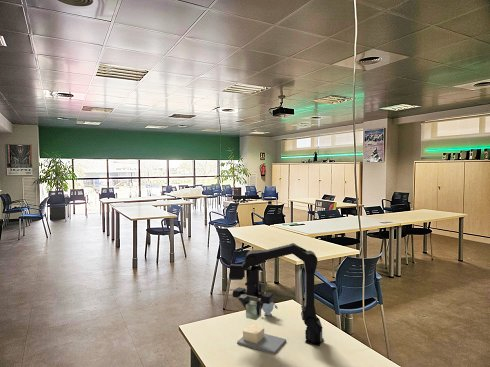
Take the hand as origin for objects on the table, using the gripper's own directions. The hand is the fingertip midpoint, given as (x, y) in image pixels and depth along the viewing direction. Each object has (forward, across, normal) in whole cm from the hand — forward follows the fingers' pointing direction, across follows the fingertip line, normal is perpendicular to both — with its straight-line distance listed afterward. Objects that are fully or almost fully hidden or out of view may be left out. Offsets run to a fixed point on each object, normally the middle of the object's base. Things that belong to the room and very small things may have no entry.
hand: (253, 314), depth 150 cm
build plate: (+12, -4, 0) cm, 13 cm away
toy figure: (+12, +6, -26) cm, 29 cm away
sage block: (+1, 0, 0) cm, 1 cm away
